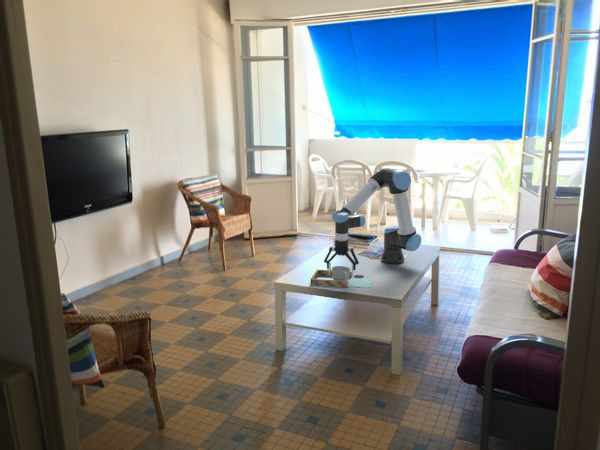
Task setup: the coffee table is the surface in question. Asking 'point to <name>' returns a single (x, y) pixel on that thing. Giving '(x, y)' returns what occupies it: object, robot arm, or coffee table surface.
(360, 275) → the disc
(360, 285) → the mat
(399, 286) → the coffee table surface
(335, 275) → the teacup
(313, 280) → the cubby
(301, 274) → the coffee table surface
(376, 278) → the coffee table surface
